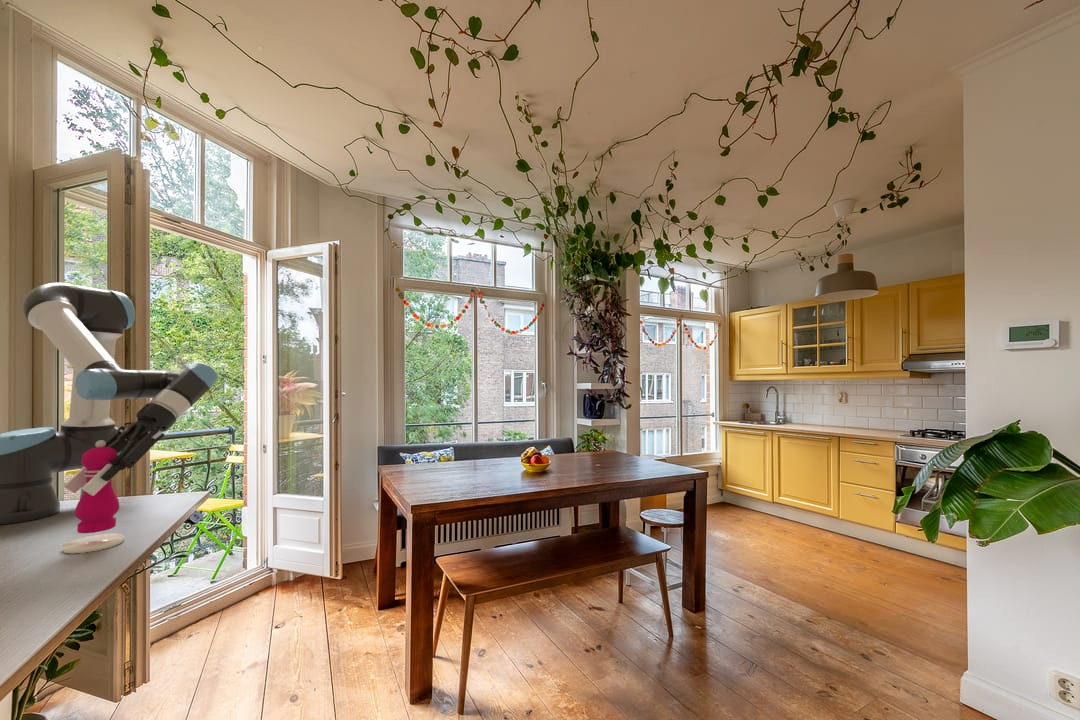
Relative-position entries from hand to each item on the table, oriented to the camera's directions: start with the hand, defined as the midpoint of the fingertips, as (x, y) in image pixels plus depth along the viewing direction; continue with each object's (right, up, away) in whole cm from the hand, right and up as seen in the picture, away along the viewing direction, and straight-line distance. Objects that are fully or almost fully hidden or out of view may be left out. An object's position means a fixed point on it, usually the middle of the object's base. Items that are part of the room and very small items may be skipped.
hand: (78, 490), depth 100 cm
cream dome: (+1, -13, +3) cm, 14 cm away
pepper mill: (+1, -10, +3) cm, 10 cm away
